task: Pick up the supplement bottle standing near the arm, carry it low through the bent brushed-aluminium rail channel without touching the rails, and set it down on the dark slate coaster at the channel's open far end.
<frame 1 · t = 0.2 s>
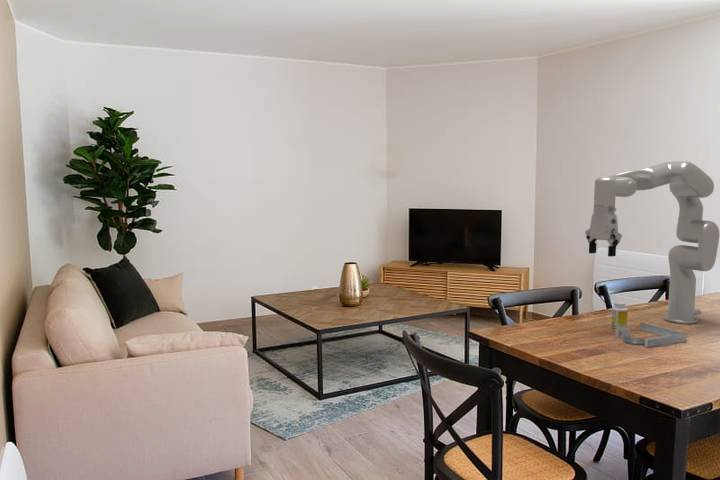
hand: (601, 254, 222), 30 cm above the table, fingers open, 9 cm apart
rail course: (629, 331, 226), on the table
supplement bottle: (618, 328, 230), on the table
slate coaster: (635, 341, 211), on the table
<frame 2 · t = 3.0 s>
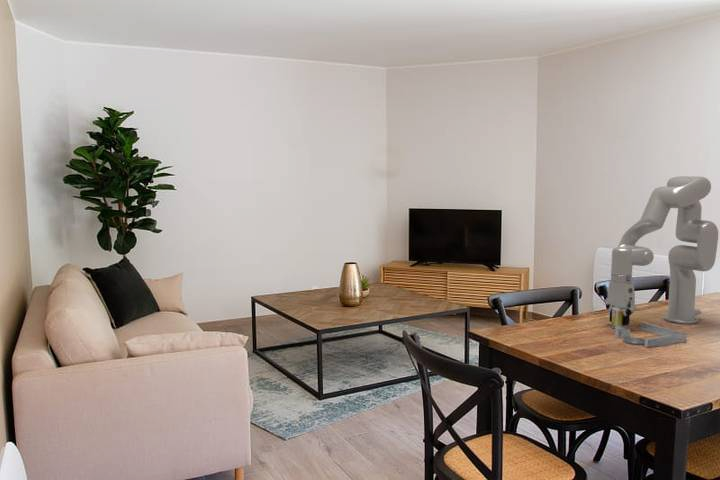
hand: (619, 322, 230), 2 cm above the table, fingers closed on supplement bottle, 5 cm apart
supplement bottle: (618, 328, 230), on the table, touching gripper
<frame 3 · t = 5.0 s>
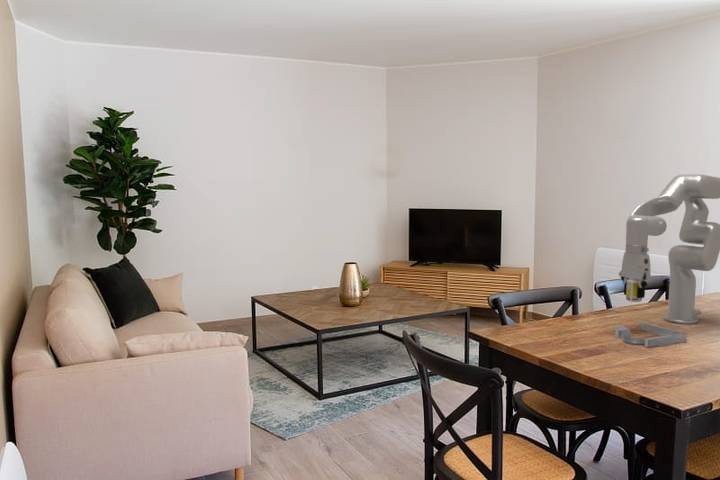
hand: (634, 295, 223), 14 cm above the table, fingers closed on supplement bottle, 5 cm apart
supplement bottle: (633, 301, 223), point 12 cm above the table, touching gripper
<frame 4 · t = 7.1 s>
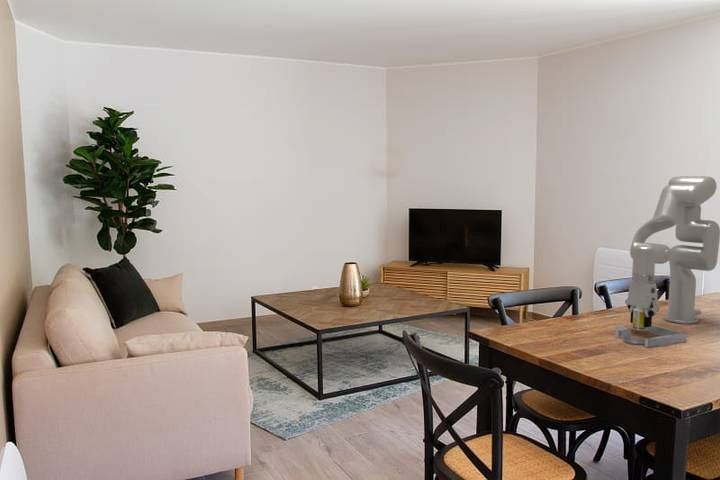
hand: (640, 324, 221), 4 cm above the table, fingers closed on supplement bottle, 5 cm apart
supplement bottle: (640, 330, 221), point 2 cm above the table, touching gripper
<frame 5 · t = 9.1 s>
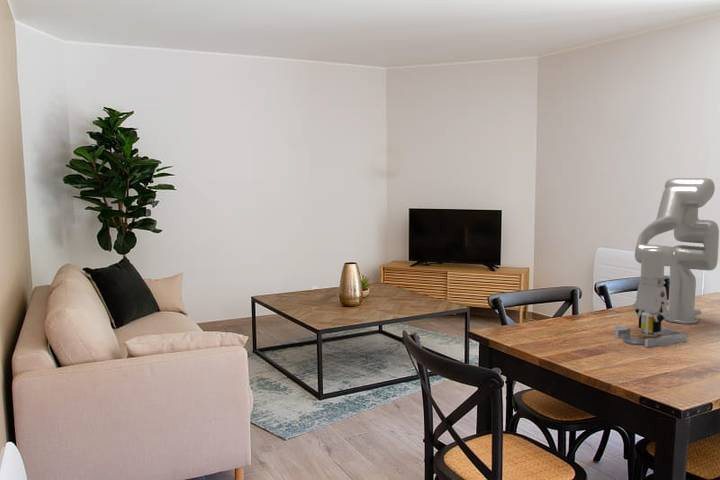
hand: (649, 329, 213), 4 cm above the table, fingers closed on supplement bottle, 5 cm apart
supplement bottle: (649, 335, 213), point 2 cm above the table, touching gripper
when the fingers open (3 cm above the table, at t = 11.0 s): supplement bottle stays where it is, resting on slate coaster.
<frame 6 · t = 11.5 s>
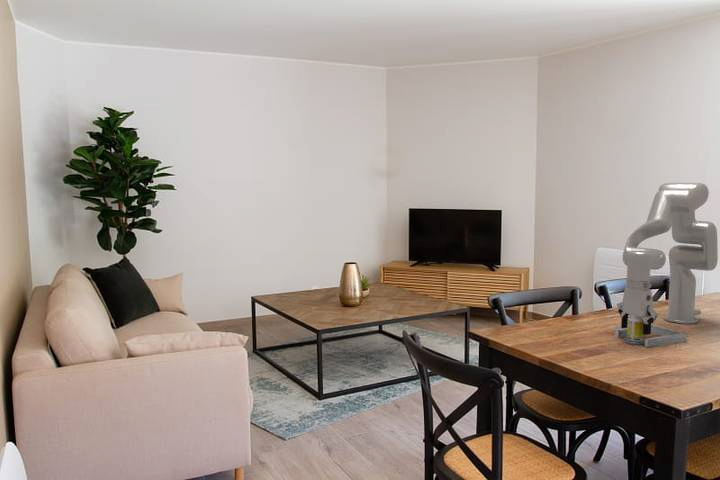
hand: (635, 331, 211), 4 cm above the table, fingers open, 9 cm apart
supplement bottle: (635, 340, 211), resting on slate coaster
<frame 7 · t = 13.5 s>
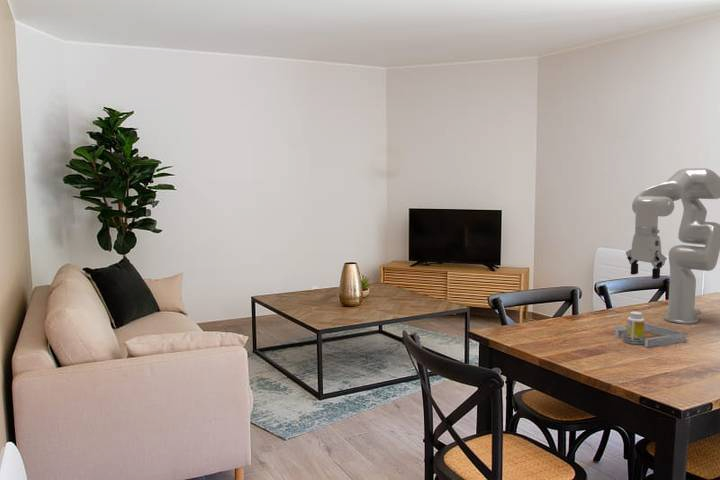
hand: (644, 276, 218), 23 cm above the table, fingers open, 9 cm apart
nothing on the table moved.
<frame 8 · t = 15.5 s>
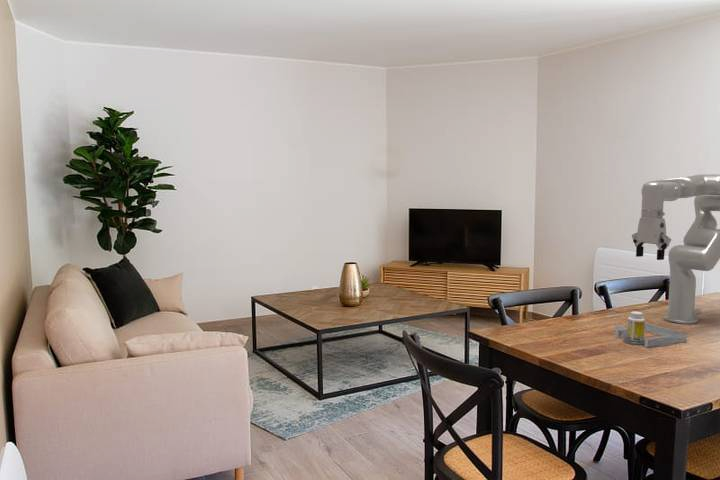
hand: (649, 258, 226), 28 cm above the table, fingers open, 9 cm apart
nothing on the table moved.
at the end: supplement bottle inside the target area on the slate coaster (0.2 cm from its centre), point 0.4 cm above the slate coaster's base; supplement bottle tilted 1°; supplement bottle touching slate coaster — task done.
